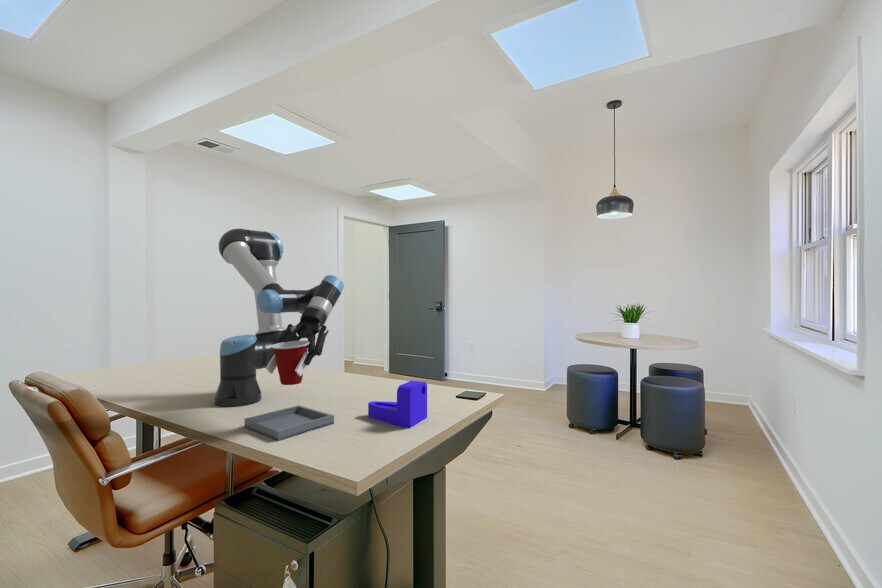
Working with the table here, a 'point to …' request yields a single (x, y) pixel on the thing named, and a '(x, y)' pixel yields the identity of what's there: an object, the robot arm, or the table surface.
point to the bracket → (403, 406)
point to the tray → (288, 422)
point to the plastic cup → (289, 360)
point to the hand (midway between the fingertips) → (283, 372)
